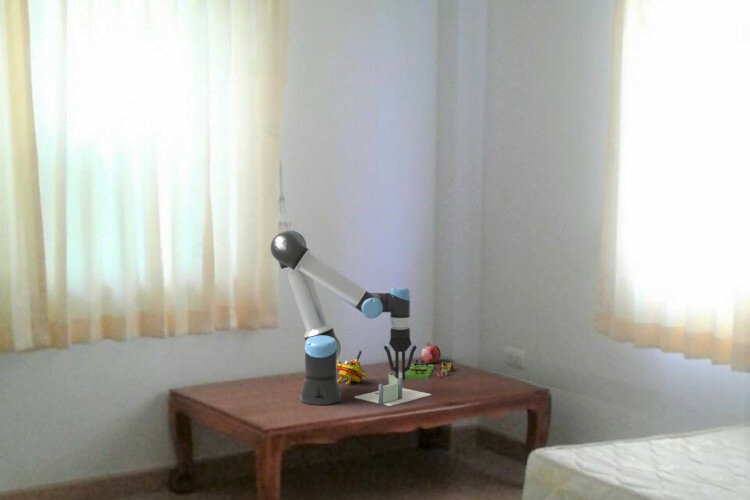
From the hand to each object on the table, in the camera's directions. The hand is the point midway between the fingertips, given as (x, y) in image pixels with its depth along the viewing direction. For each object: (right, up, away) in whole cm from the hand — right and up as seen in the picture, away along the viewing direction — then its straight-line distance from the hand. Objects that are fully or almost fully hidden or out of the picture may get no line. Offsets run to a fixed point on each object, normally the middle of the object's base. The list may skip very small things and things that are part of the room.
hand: (400, 388), depth 351 cm
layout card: (-3, -3, -4) cm, 6 cm away
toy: (-20, -1, +19) cm, 27 cm away
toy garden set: (+14, 0, +40) cm, 42 cm away
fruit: (+15, +2, +62) cm, 64 cm away
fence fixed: (-4, -3, -13) cm, 14 cm away
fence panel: (-3, -1, -2) cm, 4 cm away
